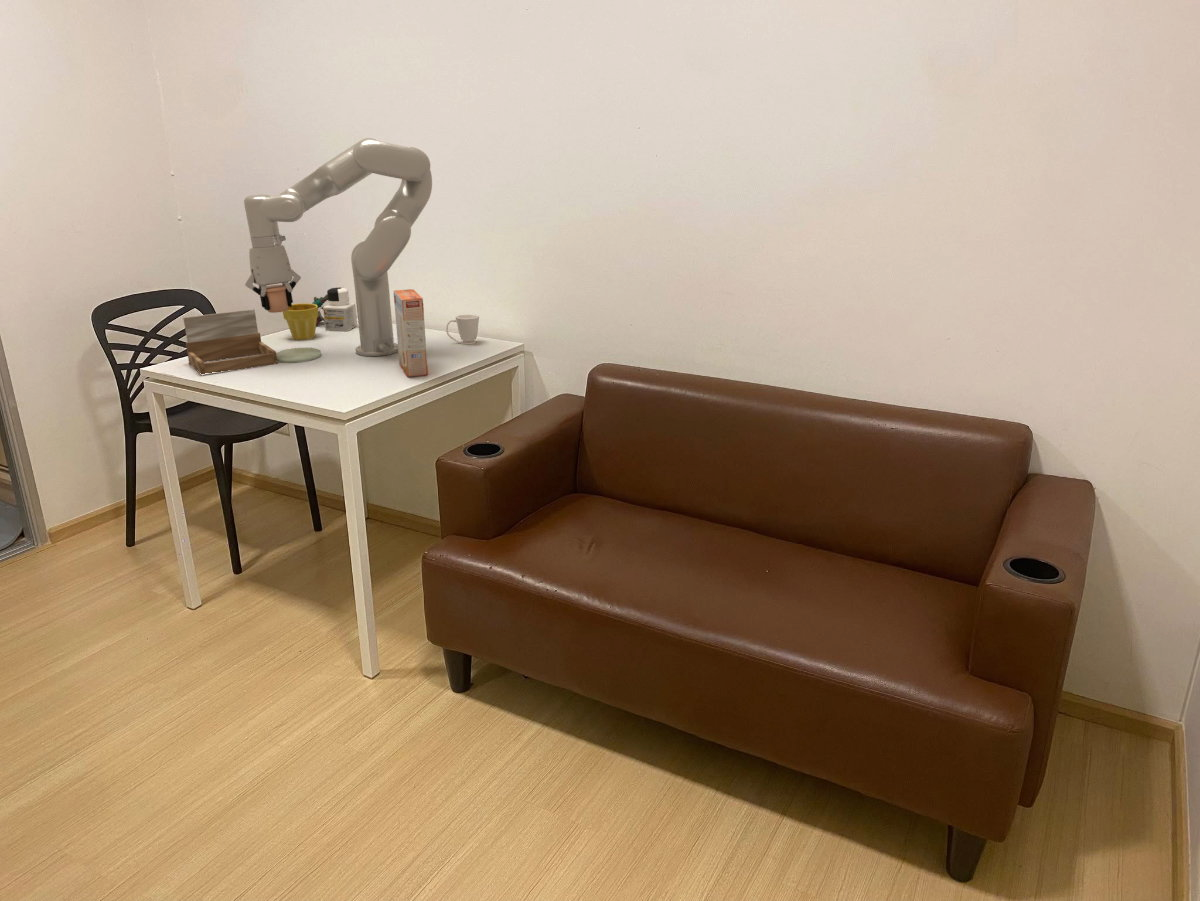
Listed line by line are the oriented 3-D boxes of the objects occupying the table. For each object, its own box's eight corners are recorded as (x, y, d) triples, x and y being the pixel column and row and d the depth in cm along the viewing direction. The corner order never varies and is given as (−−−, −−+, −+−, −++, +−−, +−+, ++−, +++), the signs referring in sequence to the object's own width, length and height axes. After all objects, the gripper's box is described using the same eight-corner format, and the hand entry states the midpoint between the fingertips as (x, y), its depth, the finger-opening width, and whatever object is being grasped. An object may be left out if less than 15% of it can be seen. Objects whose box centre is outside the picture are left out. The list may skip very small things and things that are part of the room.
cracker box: (429, 375, 236) (423, 297, 228) (406, 378, 234) (400, 299, 226) (420, 362, 248) (414, 288, 241) (398, 364, 246) (392, 289, 239)
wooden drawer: (277, 363, 248) (271, 317, 243) (202, 375, 237) (193, 327, 232) (261, 352, 259) (255, 308, 255) (189, 363, 248) (181, 317, 244)
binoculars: (324, 327, 298) (304, 303, 295) (346, 312, 297) (326, 287, 294) (318, 334, 290) (298, 309, 286) (341, 318, 289) (321, 293, 285)
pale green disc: (327, 357, 253) (327, 354, 253) (282, 365, 246) (281, 361, 246) (312, 348, 263) (312, 345, 263) (268, 355, 256) (267, 352, 256)
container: (325, 330, 285) (320, 290, 280) (335, 325, 292) (331, 285, 287) (347, 331, 284) (343, 291, 279) (358, 326, 291) (353, 286, 286)
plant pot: (315, 341, 271) (311, 310, 268) (281, 341, 272) (277, 310, 268) (325, 333, 281) (322, 303, 278) (293, 333, 281) (289, 303, 278)
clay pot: (293, 310, 248) (288, 286, 245) (270, 314, 244) (266, 290, 242) (286, 306, 252) (281, 283, 250) (264, 310, 249) (259, 287, 247)
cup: (479, 345, 266) (478, 318, 263) (446, 346, 265) (444, 319, 262) (481, 339, 273) (479, 313, 270) (448, 340, 272) (446, 314, 269)
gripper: (293, 237, 249) (304, 300, 255) (230, 244, 240) (243, 310, 246) (301, 239, 243) (312, 304, 250) (237, 247, 234) (250, 315, 241)
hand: (278, 307), depth 248 cm, fingers closed on clay pot, 5 cm apart
